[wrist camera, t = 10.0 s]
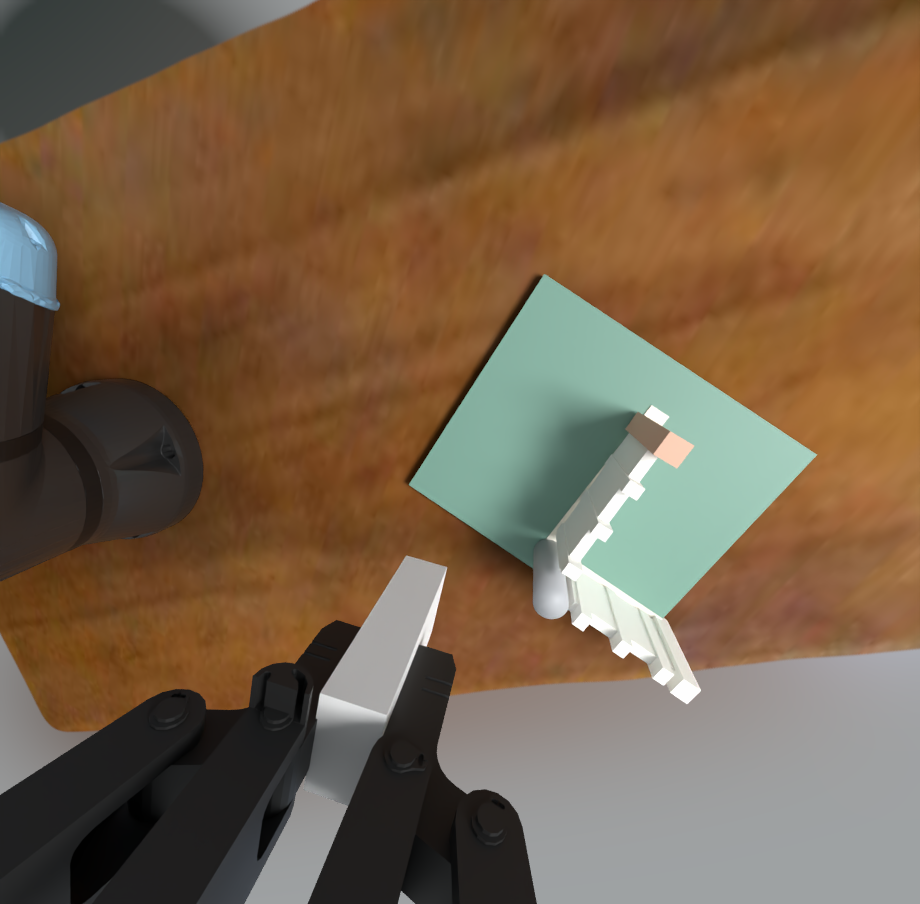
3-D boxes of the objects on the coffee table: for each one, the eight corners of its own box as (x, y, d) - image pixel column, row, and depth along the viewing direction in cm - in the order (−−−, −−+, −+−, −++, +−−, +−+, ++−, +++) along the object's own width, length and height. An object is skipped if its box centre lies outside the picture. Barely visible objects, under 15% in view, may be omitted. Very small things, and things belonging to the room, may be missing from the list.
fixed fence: (528, 551, 39) (526, 605, 31) (544, 530, 38) (546, 580, 30) (652, 635, 39) (683, 712, 30) (670, 615, 38) (707, 689, 30)
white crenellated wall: (637, 411, 34) (670, 431, 26) (656, 422, 34) (694, 445, 26) (551, 532, 37) (556, 584, 29) (568, 542, 37) (577, 597, 29)
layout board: (410, 482, 39) (408, 485, 38) (544, 275, 34) (544, 273, 33) (639, 637, 39) (641, 642, 38) (812, 453, 33) (817, 455, 33)
